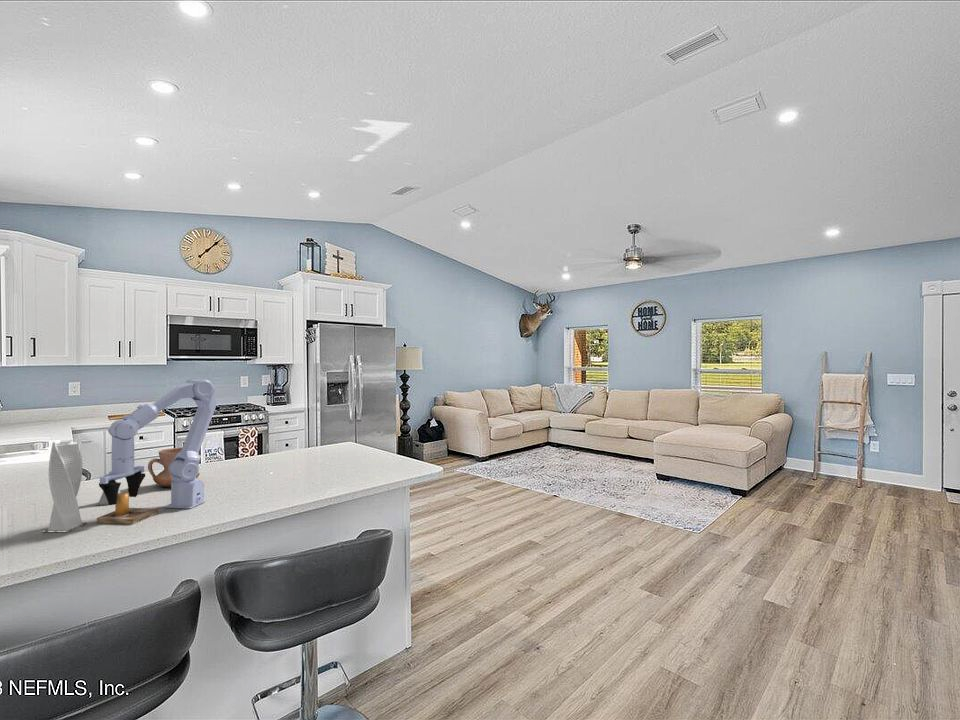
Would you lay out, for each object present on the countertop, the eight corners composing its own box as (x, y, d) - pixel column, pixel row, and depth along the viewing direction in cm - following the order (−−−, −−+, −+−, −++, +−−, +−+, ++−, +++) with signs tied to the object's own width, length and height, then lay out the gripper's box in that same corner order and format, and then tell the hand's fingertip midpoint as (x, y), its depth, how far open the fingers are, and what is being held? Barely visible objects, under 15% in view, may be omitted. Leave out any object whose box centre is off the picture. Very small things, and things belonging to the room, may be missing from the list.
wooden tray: (158, 513, 151) (158, 508, 151) (132, 524, 141) (132, 519, 141) (123, 512, 152) (123, 507, 152) (96, 522, 142) (96, 518, 142)
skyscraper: (91, 523, 141) (92, 433, 141) (69, 533, 133) (69, 437, 133) (63, 523, 141) (64, 432, 141) (39, 533, 133) (39, 437, 133)
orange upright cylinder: (131, 517, 147) (131, 492, 147) (121, 521, 144) (122, 495, 144) (122, 516, 148) (122, 492, 148) (112, 520, 144) (112, 495, 144)
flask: (93, 506, 158) (93, 477, 158) (104, 500, 165) (104, 472, 165) (117, 504, 160) (118, 476, 160) (127, 498, 167) (128, 471, 167)
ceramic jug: (203, 478, 195) (203, 444, 195) (199, 487, 182) (199, 451, 182) (151, 482, 187) (151, 448, 187) (143, 492, 174) (144, 455, 174)
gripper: (130, 452, 153) (130, 493, 153) (90, 462, 139) (90, 507, 139) (150, 453, 153) (150, 493, 153) (112, 463, 138) (112, 508, 138)
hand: (123, 500), depth 146 cm, fingers open, 7 cm apart
